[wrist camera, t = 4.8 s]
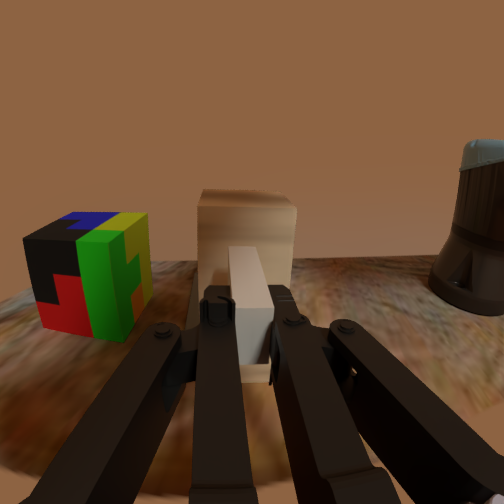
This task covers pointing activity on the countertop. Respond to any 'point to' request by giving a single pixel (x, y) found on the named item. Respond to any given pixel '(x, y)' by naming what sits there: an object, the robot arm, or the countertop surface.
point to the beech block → (245, 242)
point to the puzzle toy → (91, 273)
